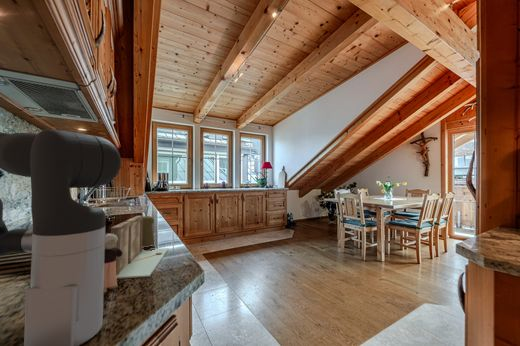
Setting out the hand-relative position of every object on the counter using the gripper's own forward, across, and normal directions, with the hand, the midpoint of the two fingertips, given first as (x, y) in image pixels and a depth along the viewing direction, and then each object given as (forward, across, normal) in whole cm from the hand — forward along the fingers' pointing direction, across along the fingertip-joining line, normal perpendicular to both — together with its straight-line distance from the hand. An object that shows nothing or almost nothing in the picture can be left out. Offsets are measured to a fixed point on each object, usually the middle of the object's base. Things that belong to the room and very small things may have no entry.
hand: (108, 237), depth 73 cm
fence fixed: (+8, -13, +6) cm, 17 cm away
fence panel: (+9, -3, +6) cm, 11 cm away
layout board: (+12, -6, +6) cm, 15 cm away
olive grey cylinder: (+8, +11, +7) cm, 15 cm away
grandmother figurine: (+10, -23, +7) cm, 26 cm away
